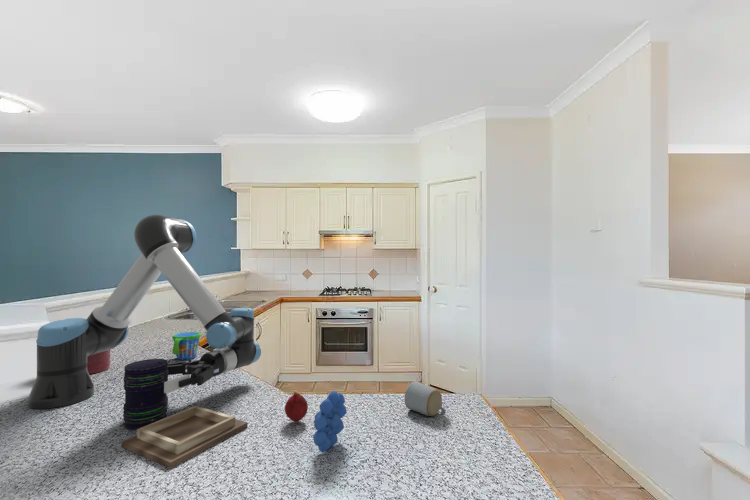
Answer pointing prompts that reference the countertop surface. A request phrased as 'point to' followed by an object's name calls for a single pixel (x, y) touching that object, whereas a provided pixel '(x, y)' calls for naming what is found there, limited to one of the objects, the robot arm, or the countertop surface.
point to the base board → (182, 435)
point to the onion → (296, 407)
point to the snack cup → (186, 345)
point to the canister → (98, 362)
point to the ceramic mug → (423, 399)
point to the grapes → (329, 421)
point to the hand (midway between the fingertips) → (148, 383)
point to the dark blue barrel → (145, 393)
